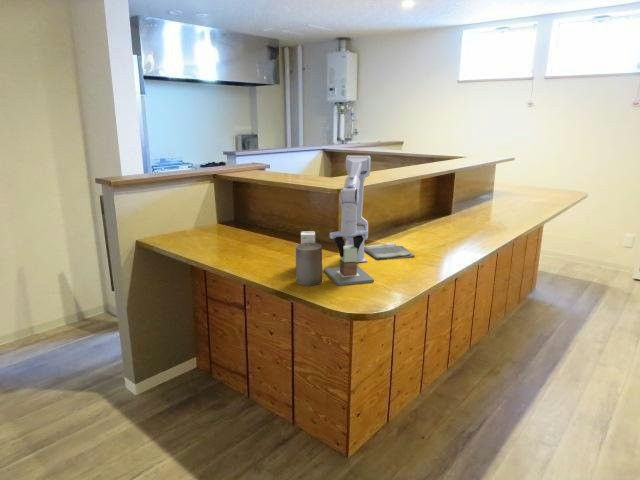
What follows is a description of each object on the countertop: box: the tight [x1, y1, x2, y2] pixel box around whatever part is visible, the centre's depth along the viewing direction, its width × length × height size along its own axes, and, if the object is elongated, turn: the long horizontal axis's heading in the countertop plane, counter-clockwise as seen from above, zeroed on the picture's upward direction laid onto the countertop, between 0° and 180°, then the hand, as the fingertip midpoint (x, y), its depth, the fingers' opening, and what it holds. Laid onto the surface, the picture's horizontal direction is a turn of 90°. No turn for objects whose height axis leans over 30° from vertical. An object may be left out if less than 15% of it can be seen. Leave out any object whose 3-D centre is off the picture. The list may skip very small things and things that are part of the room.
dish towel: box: [364, 241, 416, 261], centre depth 203 cm, size 19×18×3 cm
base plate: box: [323, 265, 375, 286], centre depth 173 cm, size 18×14×1 cm
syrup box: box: [300, 230, 316, 244], centre depth 182 cm, size 6×6×14 cm
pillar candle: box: [295, 242, 323, 287], centre depth 165 cm, size 10×10×15 cm
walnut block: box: [339, 259, 358, 276], centre depth 172 cm, size 5×5×5 cm
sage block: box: [339, 245, 357, 262], centre depth 171 cm, size 5×5×5 cm
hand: (348, 255), depth 171 cm, fingers closed on sage block, 5 cm apart
